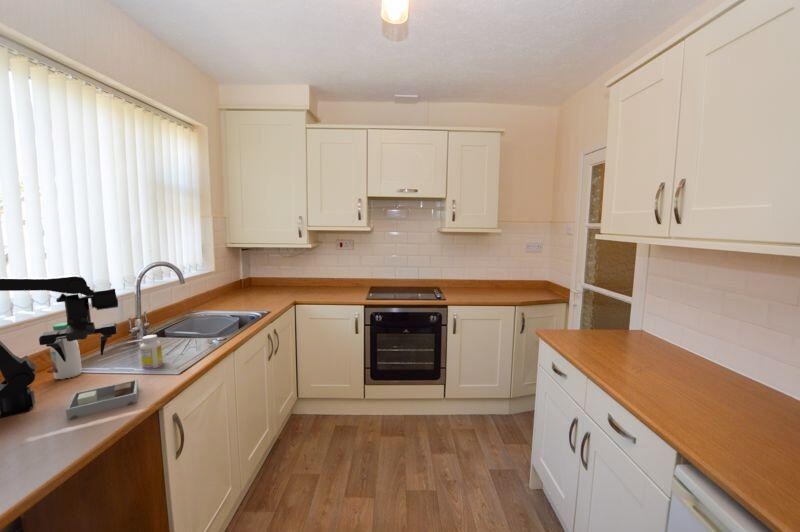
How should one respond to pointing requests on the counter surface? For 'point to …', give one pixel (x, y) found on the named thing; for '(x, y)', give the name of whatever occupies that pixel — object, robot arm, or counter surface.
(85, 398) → the sage block
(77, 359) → the milk bottle
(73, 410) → the grey shallow tray
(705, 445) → the counter surface
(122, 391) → the walnut block
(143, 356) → the supplement bottle
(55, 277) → the robot arm
